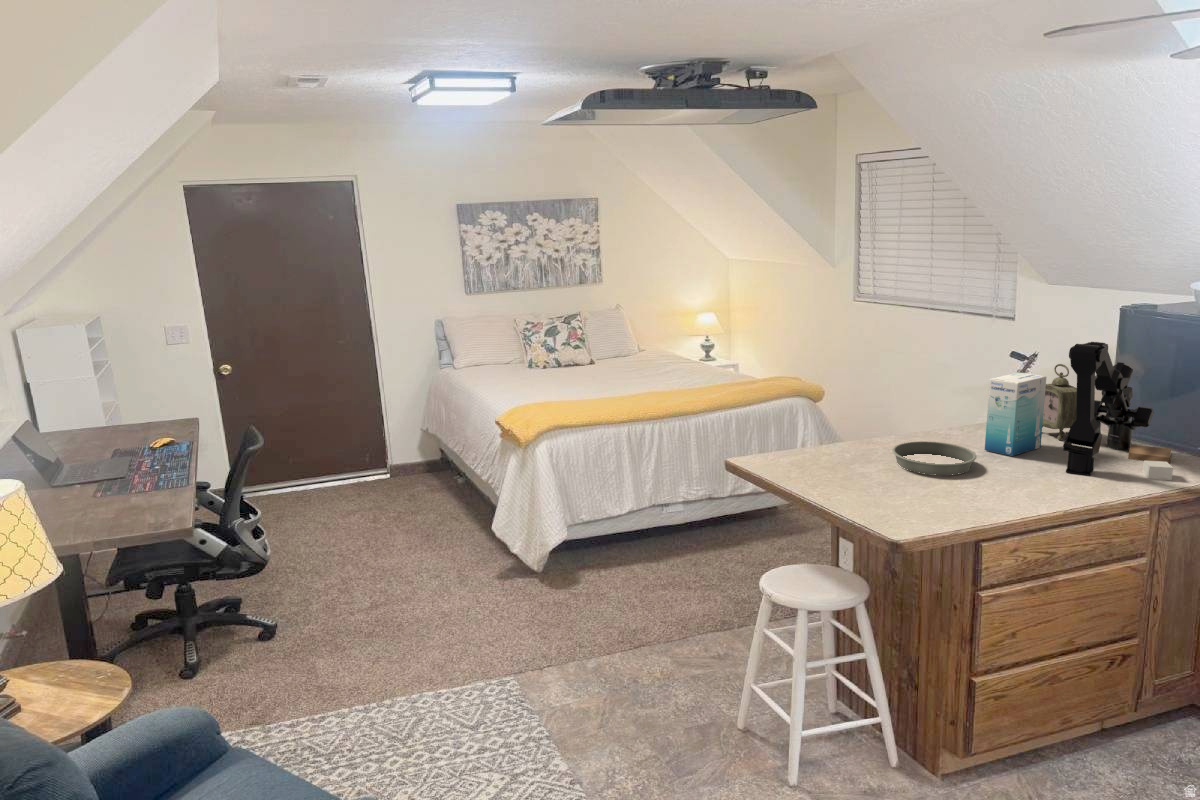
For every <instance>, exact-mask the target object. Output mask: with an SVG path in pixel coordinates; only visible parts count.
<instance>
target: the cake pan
mask: <svg viewBox="0 0 1200 800" xmlns="http://www.w3.org/2000/svg"><path fill="white" fill-rule="evenodd" d="M891 452H892V454H893V455H894V456H895V459H896V464H897V463H898V464H899V465H900V466H901V467H903V468H905V469H908V470H911V471H915V472H920V473H925V474H924V475H927V474H936V475H935V476H939V475H947V476H953V475H952V474H958V473H962V474H964V473H963V472H965V473H967V472H969V471H970V468H971V465H972V463H973V462H974V461H975V460H976V459H977V457H978V456H977V454H976V453H975V452H974V451H972V450H971V449H969V448H967V447H964V446H961V445H957V444H953V443H947V442H939V441H922V440H920V441H907V442H903V443H899V444H897V445H895V446H893V447H892V449H891ZM914 454H932V455H941V456H946V457H951V458H955V459H959V460H962V461H964V462H962V463H955V464H935V463H926V462H920V461H915V460H911V459H907V458H905V457H903V456H907V455H914ZM898 464H897V465H898ZM899 465H898V466H899ZM900 466H899V467H900ZM901 467H900V468H901ZM903 468H902V469H903ZM905 469H904V470H905ZM908 470H907V471H908ZM911 471H910V472H911ZM966 471H967V472H966ZM915 472H914V473H915ZM920 473H919V474H920ZM958 475H959V474H958Z"/></svg>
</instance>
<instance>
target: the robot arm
mask: <svg viewBox="0 0 1200 800" xmlns="http://www.w3.org/2000/svg"><path fill="white" fill-rule="evenodd" d="M1068 357H1069V359H1070V367H1071V369H1072V370H1073V372H1074V373H1075V374H1076V388H1077V403H1076V421H1075V422H1074V423H1073V424H1072V426H1071V427H1070V428H1069V430H1068V432H1067V434H1066V437H1065V439H1064V442H1063V444H1062V449H1063V451H1064V452H1065V451H1066V452H1068V455H1067V464H1066V470H1065V473H1068V474H1074V475H1075V474H1076V475H1082V476H1091V474H1092V473H1093V472H1094V471H1095V470H1094V469H1095V461H1096V460H1095V459H1096V457H1095V456H1096V455H1098V454H1099V453H1100V448H1101V444H1102V440H1103V439H1102V438H1103V435H1102V432H1101V430H1102V429H1101V428H1102V427H1101V426H1102V424H1104V425H1105V426H1108V427H1109V422H1110V420H1111V419H1113V418H1117V419H1123V418H1124V416H1128V417H1131V419H1132V420H1131V424H1130V426H1131V428H1132V430H1133V431H1135V430H1136V428H1139V427H1144V428H1149V427H1150V424H1151V422H1152V419H1153V415H1154V410H1153V408H1152V407H1147V406H1141V405H1140V406H1138V407H1137V408H1136V407H1135V409H1133V408H1132V409H1131V408H1130V407H1131V400H1132V399H1133V397H1134V396H1133V387H1131V386H1128V385H1129V383H1130V380H1131V378H1132V376H1133V373H1134V368H1131V366H1129V365H1127V364H1125V362H1122V361H1121V362H1119V361H1117V363H1116V364H1114V365H1113V362H1112V359H1111V356H1110V353H1109V344H1108V343H1106V342H1099V341H1090V342H1086V343H1076V344H1075V345H1073V346H1071V347H1070V349H1069V351H1068ZM1095 391H1101V395H1102V396H1101V398H1100V400H1097V399H1096V398H1095V397H1096V396H1095V395H1096V394H1095V393H1096V392H1095Z"/></svg>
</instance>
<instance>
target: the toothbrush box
mask: <svg viewBox="0 0 1200 800" xmlns="http://www.w3.org/2000/svg"><path fill="white" fill-rule="evenodd" d="M1046 384H1047V376H1044V375H1039V374H1033V373H1026V372H1014V373H1011V374H1005V375H1000V376H998V377H992V378H989V383H988V396H987V397H988V399H987V412H986V413H987V414H986V423H985V424H986V427H985V440H984V451H987V452H992V453H997V454H1000V455H1001V454H1002V455H1004V456H1005V455H1006V456H1011V457H1013V456H1018V455H1019V454H1024V453H1027V452H1030V451H1034V450H1036V449H1040V448H1041V447H1042V436H1043V435H1042V433H1043V428H1042V425H1043V412H1044V400H1045V388H1046Z"/></svg>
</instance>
